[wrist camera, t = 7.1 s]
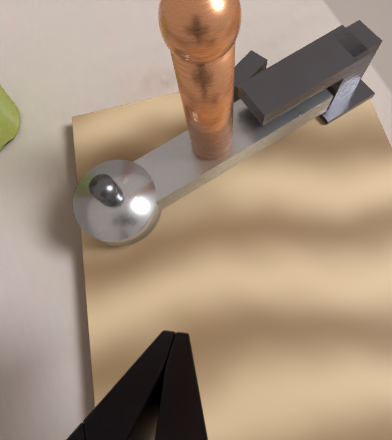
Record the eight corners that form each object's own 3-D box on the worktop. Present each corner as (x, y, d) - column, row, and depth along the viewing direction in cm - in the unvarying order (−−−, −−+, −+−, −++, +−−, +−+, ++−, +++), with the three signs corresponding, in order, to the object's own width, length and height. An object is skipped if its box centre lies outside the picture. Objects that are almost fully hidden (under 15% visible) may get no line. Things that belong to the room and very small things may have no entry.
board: (496, 417, 17) (516, 425, 16) (110, 488, 18) (102, 500, 16) (343, 64, 24) (348, 52, 23) (78, 125, 25) (71, 117, 24)
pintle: (161, 234, 21) (141, 211, 16) (103, 246, 21) (68, 227, 16) (152, 181, 22) (132, 146, 17) (98, 193, 22) (63, 161, 17)
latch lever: (105, 261, 19) (-57, 194, 8) (73, 197, 21) (-100, 68, 10) (334, 122, 20) (458, -97, 9) (288, 71, 22) (347, -168, 11)
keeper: (262, 163, 21) (271, 124, 17) (211, 97, 23) (208, 47, 19) (372, 97, 22) (408, 43, 18) (313, 38, 24) (332, -24, 20)
